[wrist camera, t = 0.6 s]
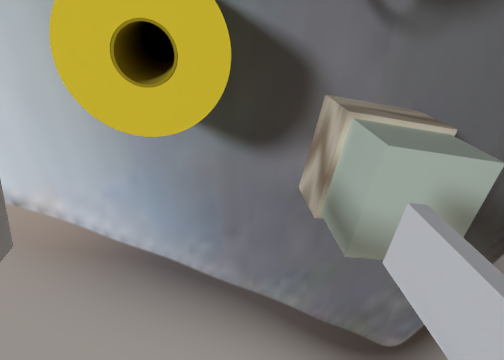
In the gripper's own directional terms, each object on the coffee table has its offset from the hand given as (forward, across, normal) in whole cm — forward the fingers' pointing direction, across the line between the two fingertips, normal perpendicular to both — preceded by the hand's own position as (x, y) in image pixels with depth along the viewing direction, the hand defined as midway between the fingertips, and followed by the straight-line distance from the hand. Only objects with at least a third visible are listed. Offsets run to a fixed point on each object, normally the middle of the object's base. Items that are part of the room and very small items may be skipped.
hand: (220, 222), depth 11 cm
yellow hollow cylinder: (+21, -4, +3) cm, 22 cm away
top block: (+15, +15, -4) cm, 22 cm away
